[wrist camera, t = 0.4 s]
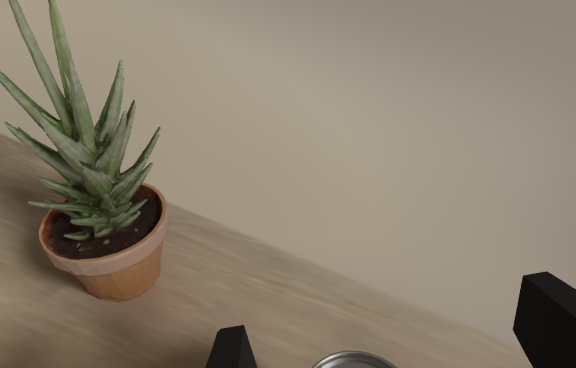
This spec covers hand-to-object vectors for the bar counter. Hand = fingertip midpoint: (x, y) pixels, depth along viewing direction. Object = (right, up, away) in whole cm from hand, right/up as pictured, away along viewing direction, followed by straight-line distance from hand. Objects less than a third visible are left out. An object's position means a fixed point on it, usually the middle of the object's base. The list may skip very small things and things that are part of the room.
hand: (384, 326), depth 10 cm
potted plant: (-17, -5, +26) cm, 32 cm away
